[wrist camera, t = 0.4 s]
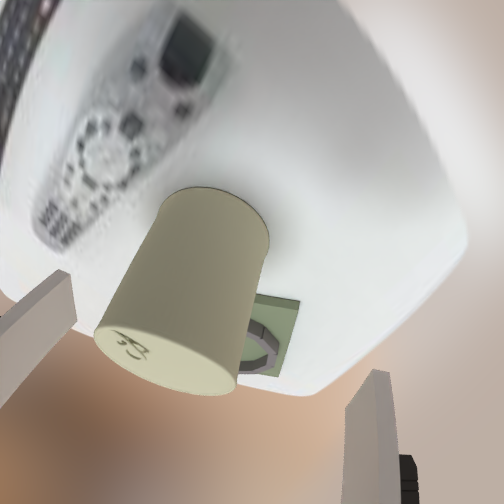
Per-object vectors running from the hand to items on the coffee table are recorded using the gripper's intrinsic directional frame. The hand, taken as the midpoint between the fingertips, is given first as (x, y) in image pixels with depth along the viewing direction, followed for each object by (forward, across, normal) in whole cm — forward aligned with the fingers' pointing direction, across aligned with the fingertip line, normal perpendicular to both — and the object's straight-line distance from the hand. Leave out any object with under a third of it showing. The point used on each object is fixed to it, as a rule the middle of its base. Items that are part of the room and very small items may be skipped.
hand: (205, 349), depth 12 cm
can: (+14, -4, -2) cm, 14 cm away
